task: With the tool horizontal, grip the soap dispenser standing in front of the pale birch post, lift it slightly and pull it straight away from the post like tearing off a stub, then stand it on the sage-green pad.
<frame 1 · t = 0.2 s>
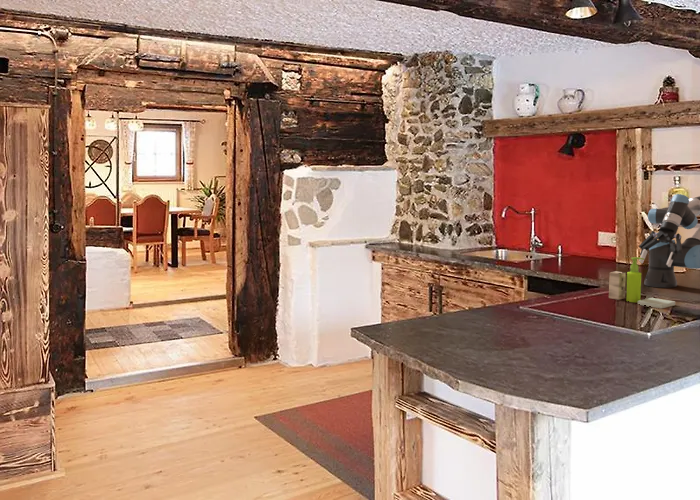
hand: (654, 263, 310), 15 cm above the counter, tool tilted 35°, fingers open, 13 cm apart
birch post: (616, 298, 309), on the counter
sage pad: (656, 304, 293), on the counter
soap dispenser: (634, 301, 302), on the counter
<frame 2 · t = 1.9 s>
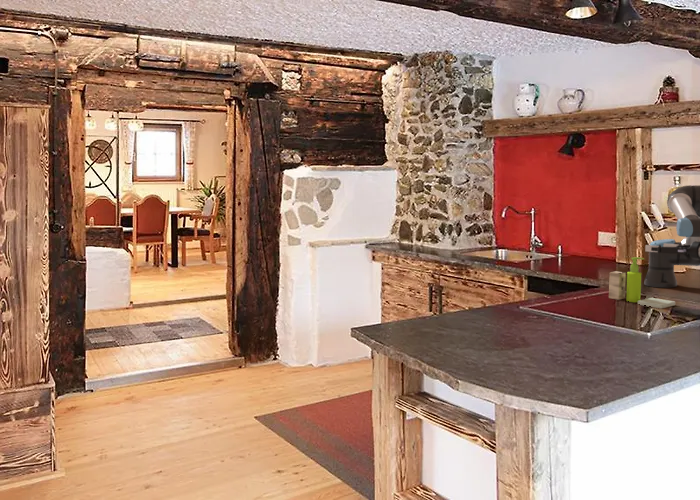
hand: (654, 247, 292), 25 cm above the counter, tool horizontal, fingers open, 13 cm apart
nothing on the counter moved.
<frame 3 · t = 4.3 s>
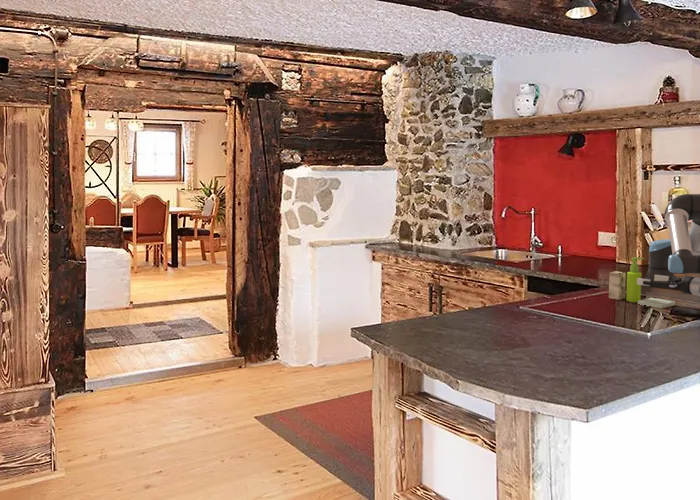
hand: (646, 279, 295), 11 cm above the counter, tool horizontal, fingers open, 13 cm apart
nothing on the counter moved.
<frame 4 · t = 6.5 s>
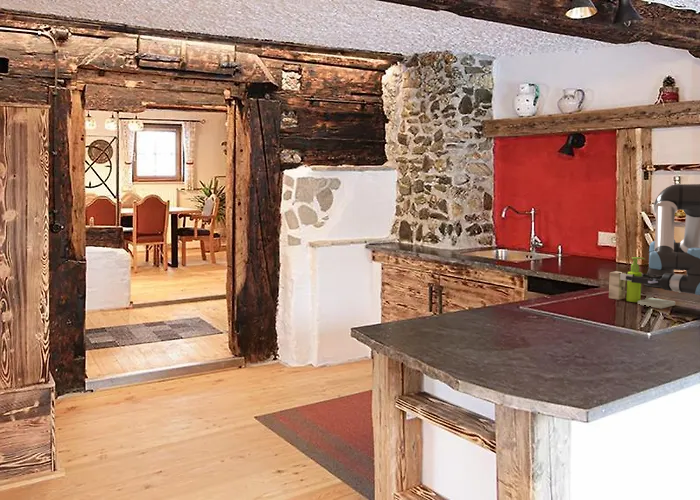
hand: (625, 275, 305), 11 cm above the counter, tool horizontal, fingers closed on soap dispenser, 6 cm apart
soap dispenser: (634, 301, 302), on the counter, touching gripper
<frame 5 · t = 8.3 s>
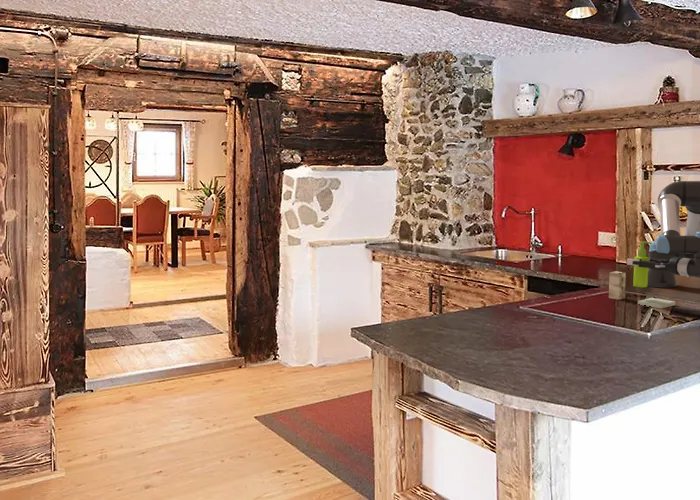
hand: (631, 260, 301), 18 cm above the counter, tool horizontal, fingers closed on soap dispenser, 6 cm apart
soap dispenser: (641, 286, 298), point 7 cm above the counter, touching gripper
when the fingers open (14 cm above the counter, at t = 10.3 s): soap dispenser drops 1 cm, resting on sage pad.
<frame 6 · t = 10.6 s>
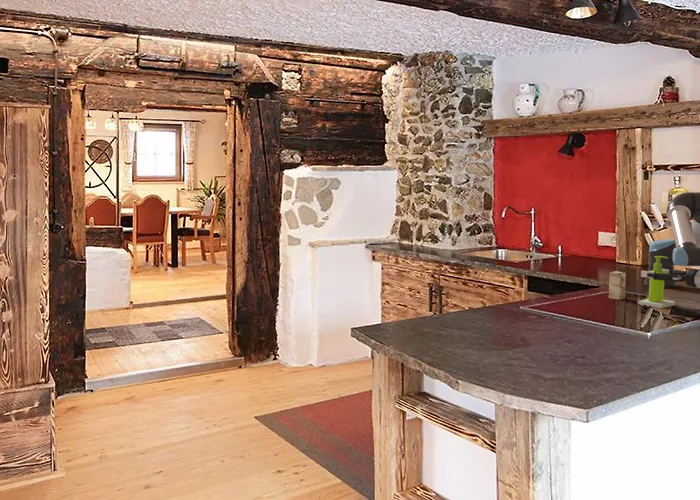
hand: (648, 272, 295), 14 cm above the counter, tool horizontal, fingers open, 10 cm apart
soap dispenser: (656, 301, 293), point 1 cm above the counter, touching sage pad
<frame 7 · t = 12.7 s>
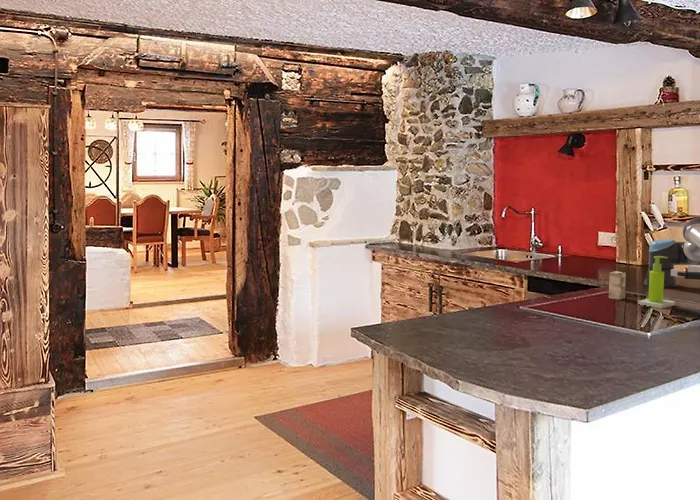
hand: (679, 270, 283), 16 cm above the counter, tool horizontal, fingers open, 13 cm apart
nothing on the counter moved.
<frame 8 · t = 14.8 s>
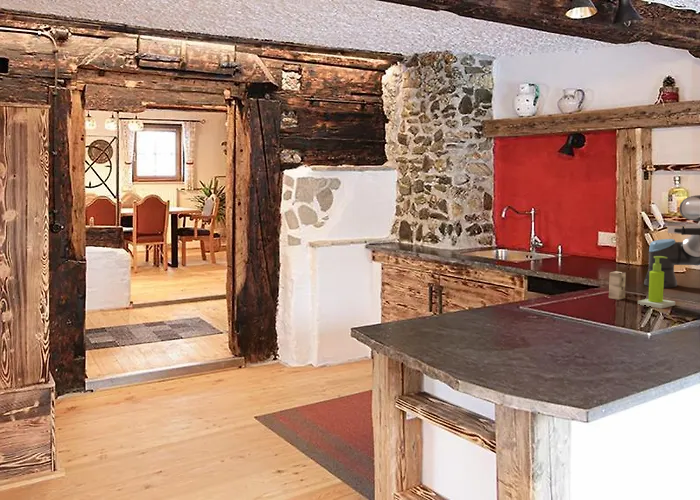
hand: (677, 228, 286), 34 cm above the counter, tool horizontal, fingers open, 13 cm apart
nothing on the counter moved.
at the end: soap dispenser inside the target area on the sage pad (0.4 cm from its centre), point 1.4 cm above the sage pad's base; soap dispenser tilted 0°; the gripper is holding nothing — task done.
